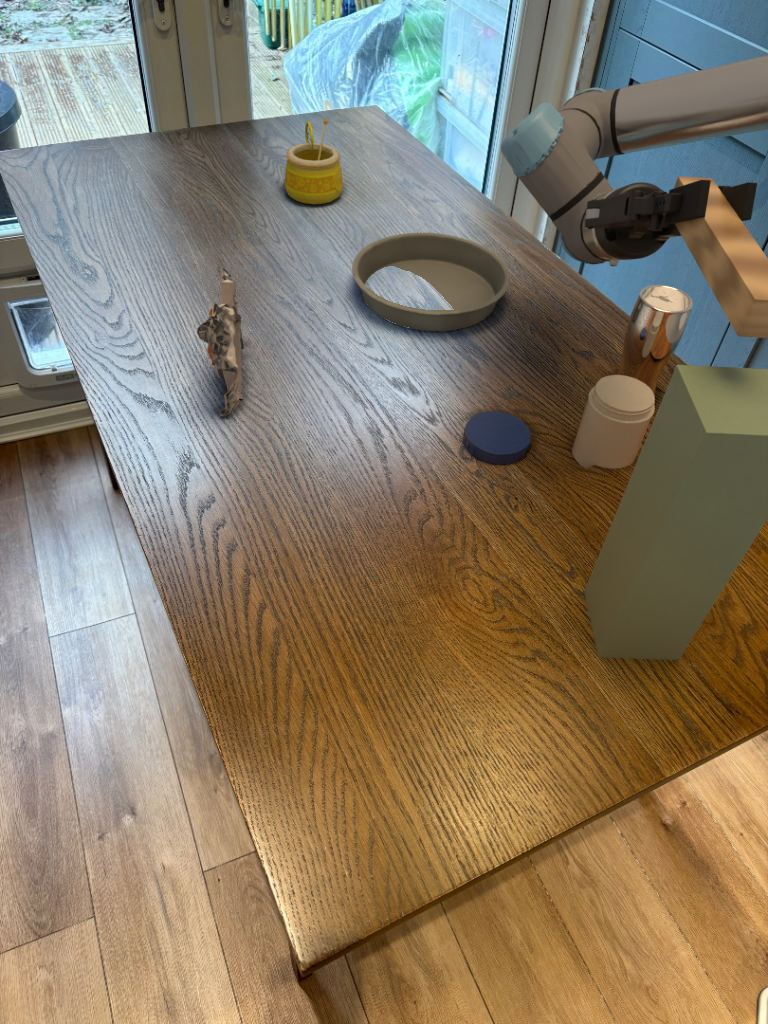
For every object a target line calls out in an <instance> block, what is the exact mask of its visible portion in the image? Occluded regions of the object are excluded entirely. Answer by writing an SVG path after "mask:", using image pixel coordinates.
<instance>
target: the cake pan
mask: <svg viewBox="0 0 768 1024" xmlns="http://www.w3.org/2000/svg"><path fill="white" fill-rule="evenodd" d="M388 266H395V267H397V268H400V269H402V270H405V271H410V272H412V273H414V274H415V275H418V276H420V277H422V278H423V279H425V280H426V281H427V282H429V283H430V284H431V285H432V286H433V287H434V288H435V289H436V290H437V291H438V292H439V293H440V294H441V295H442V296H443V297H444V299H445V300H446V301H447V302H448V303H449V304H450V305H451V306H452V308H453V309H454V310H425V309H417V308H412V307H407V306H403V305H400V304H396V303H393V302H391V301H388V300H386V299H384V298H382V297H380V296H378V295H377V294H375V293H374V292H372V291H371V290H370V289H368V288H367V287H366V286H365V283H366V281H367V280H368V278H369V277H370V276H371V275H372V274H374V273H375V272H376V271H378V270H380V269H382V268H384V267H388ZM351 272H352V276H353V278H354V281H355V283H356V284H357V286H358V287H359V288H360V289H361V292H362V296H363V299H364V302H365V301H366V302H365V303H366V305H367V304H368V305H367V306H368V307H369V309H370V308H371V309H372V310H373V311H374V312H373V311H372V310H371V309H370V310H371V311H372V312H373V313H375V312H376V313H377V314H378V315H377V314H376V313H375V314H376V315H377V316H379V315H380V316H381V317H380V316H379V317H380V318H382V317H383V318H385V319H387V320H389V321H391V322H393V323H392V324H394V323H396V324H398V325H397V326H399V325H401V326H400V327H402V326H405V327H404V328H406V327H409V328H408V329H410V328H413V329H412V330H415V329H419V330H418V331H421V330H425V331H424V332H432V331H442V332H451V331H450V330H453V331H458V330H457V329H459V330H462V329H461V328H463V329H466V328H465V327H467V328H469V326H470V327H473V326H475V325H477V324H479V323H481V322H483V321H484V320H486V317H487V316H488V317H489V316H490V315H491V314H492V313H493V311H494V310H495V307H496V305H497V301H499V300H500V299H501V298H502V297H504V295H505V294H506V293H507V291H508V289H509V287H510V284H511V275H510V274H511V273H510V271H509V268H508V266H507V265H506V263H505V262H504V261H503V259H501V257H500V256H498V255H497V254H496V253H495V252H493V251H492V250H490V249H489V248H487V247H485V246H483V245H481V244H480V243H477V242H475V241H472V240H469V239H466V238H463V237H459V236H456V235H451V234H445V233H438V232H437V233H436V232H408V233H400V234H395V235H390V236H386V237H383V238H380V239H378V240H376V241H373V242H371V243H370V244H368V245H366V246H365V247H363V248H362V249H361V250H360V251H359V252H358V253H357V254H356V256H355V257H354V259H353V262H352V265H351ZM488 317H487V318H488ZM383 318H382V319H383ZM385 319H384V320H385ZM387 320H386V321H387ZM389 321H388V322H389ZM480 321H481V322H480ZM391 322H390V323H391ZM396 324H395V325H396ZM474 324H475V325H474ZM472 325H473V326H472Z"/></svg>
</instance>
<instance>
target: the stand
mask: <svg viewBox="0 0 768 1024" xmlns="http://www.w3.org/2000/svg"><path fill="white" fill-rule="evenodd" d="M767 521H768V368H754V367H753V368H752V367H733V366H731V367H730V366H712V365H710V366H709V365H692V364H691V365H690V364H676V365H675V368H674V370H673V373H672V375H671V378H670V379H669V383H668V384H667V387H666V390H665V392H664V395H663V398H662V399H661V403H660V405H659V406H658V410H657V412H656V415H655V417H654V419H653V421H652V424H651V426H650V429H649V431H648V434H647V436H646V439H645V441H644V444H643V446H642V449H641V450H640V453H639V456H638V458H637V460H636V463H635V466H634V468H633V470H632V473H631V475H630V478H629V480H628V483H627V485H626V488H625V490H624V493H623V495H622V498H621V500H620V502H619V505H618V507H617V509H616V512H615V515H614V517H613V520H612V523H611V525H610V527H609V530H608V532H607V534H606V537H605V539H604V542H603V545H602V547H601V549H600V551H599V554H598V555H597V556H598V557H597V559H596V561H595V563H594V566H593V569H592V571H591V574H590V576H589V578H588V580H587V583H586V585H585V588H584V591H583V595H584V599H585V603H586V608H587V613H588V617H589V623H590V627H591V631H592V635H593V640H594V644H595V649H596V653H597V657H598V658H606V659H608V658H609V659H636V660H641V659H642V660H662V661H663V660H664V661H679V660H680V659H681V658H682V656H683V654H684V653H685V651H686V649H687V648H688V646H689V645H690V643H691V642H692V640H693V638H694V636H696V634H697V632H698V631H699V629H700V627H701V626H702V624H703V622H704V621H705V619H706V618H707V616H708V614H709V613H710V611H711V610H712V609H713V607H714V605H715V603H716V602H717V600H718V599H719V597H720V595H721V594H722V593H723V591H724V590H725V587H726V586H727V585H728V583H729V581H730V579H731V578H732V577H733V575H734V573H735V571H736V570H737V568H738V567H739V565H740V564H741V562H742V561H743V559H744V557H745V555H746V554H747V552H748V551H749V550H750V548H751V546H752V545H753V543H754V541H755V540H756V538H757V537H758V535H759V534H760V532H761V530H762V529H763V527H764V525H765V524H766V522H767Z"/></svg>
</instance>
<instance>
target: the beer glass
mask: <svg viewBox="0 0 768 1024" xmlns="http://www.w3.org/2000/svg"><path fill="white" fill-rule="evenodd" d="M693 306H694V302H693V299H692V297H691V296H690V295H689V294H687V293H686V292H685V291H683V290H681V289H679V288H677V287H675V286H671V285H666V284H665V285H664V284H649V285H647V286H645V287H643V288H642V289H641V290H640V291H639V294H638V297H637V299H636V301H635V304H634V306H633V308H632V311H631V313H630V316H629V319H628V322H627V325H626V329H625V333H624V338H623V345H622V354H621V360H620V365H619V369H618V371H617V373H616V375H623V376H628V377H632V378H635V379H637V380H639V381H641V382H643V383H645V384H646V385H647V386H648V387H649V388H650V389H651V390H652V392H653V394H654V396H655V394H656V390H657V389H656V388H657V384H658V380H659V379H660V376H661V375H662V372H663V371H664V370H665V367H667V364H669V361H670V360H671V358H672V357H673V355H674V353H675V352H676V350H677V349H678V347H679V344H680V342H681V340H682V338H683V336H684V333H685V330H686V327H687V325H688V321H689V318H690V314H691V312H692V308H693Z"/></svg>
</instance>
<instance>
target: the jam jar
mask: <svg viewBox="0 0 768 1024" xmlns="http://www.w3.org/2000/svg"><path fill="white" fill-rule="evenodd" d="M655 397H656V396H655V395H654V394H653V392H652V390H651V389H650V388H649V387H648V386H647V385H646V384H645V383H643V382H641V381H639V380H637V379H635V378H632V377H628V376H623V375H617V374H611V375H605V376H603V377H601V378H600V379H599V380H598V381H597V382H596V384H595V386H594V387H592V388H591V389H590V391H589V393H588V396H587V399H586V402H585V405H584V409H583V412H582V415H581V418H580V421H579V424H578V428H577V431H576V434H575V437H574V440H573V443H572V447H571V452H572V457H573V458H574V460H575V462H577V463H578V464H579V466H581V467H582V468H583V469H589V468H591V467H593V466H596V467H600V468H605V469H622V468H626V467H628V466H631V464H633V463H634V461H635V460H636V458H637V456H638V453H639V450H640V448H641V445H642V443H643V441H644V438H645V436H646V433H647V431H648V429H649V426H650V425H651V424H650V423H651V421H652V418H653V416H654V413H655V409H656V408H655V403H656V398H655Z"/></svg>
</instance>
